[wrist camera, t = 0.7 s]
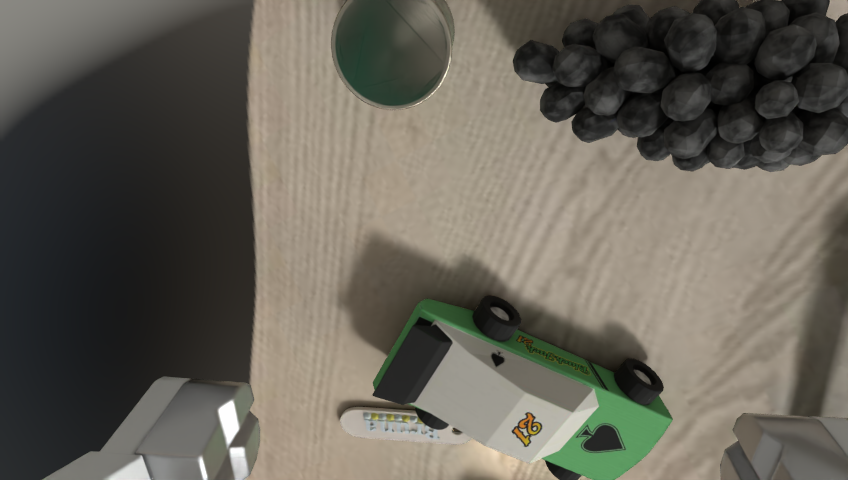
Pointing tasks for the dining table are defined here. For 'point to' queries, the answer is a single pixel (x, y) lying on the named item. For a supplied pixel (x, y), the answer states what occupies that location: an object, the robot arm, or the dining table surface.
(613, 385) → the toy car
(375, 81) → the tin
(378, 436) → the keychain
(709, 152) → the fruit
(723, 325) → the dining table surface
